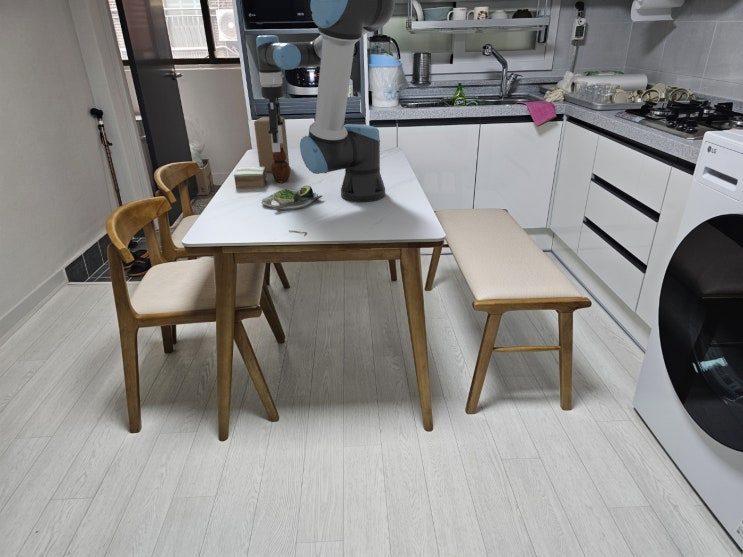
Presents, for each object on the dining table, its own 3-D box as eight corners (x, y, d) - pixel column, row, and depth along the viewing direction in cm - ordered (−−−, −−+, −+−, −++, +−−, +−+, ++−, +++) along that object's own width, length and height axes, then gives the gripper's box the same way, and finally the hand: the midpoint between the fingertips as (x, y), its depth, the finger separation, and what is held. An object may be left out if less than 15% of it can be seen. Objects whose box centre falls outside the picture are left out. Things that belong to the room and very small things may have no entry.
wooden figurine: (269, 182, 182) (265, 141, 175) (279, 178, 186) (275, 138, 179) (284, 184, 179) (280, 142, 172) (293, 180, 183) (289, 139, 176)
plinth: (263, 187, 176) (262, 173, 174) (236, 188, 175) (233, 174, 173) (266, 179, 185) (265, 166, 182) (240, 180, 184) (238, 167, 182)
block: (289, 166, 202) (285, 116, 193) (283, 172, 193) (278, 120, 184) (266, 166, 203) (260, 116, 194) (259, 172, 194) (252, 120, 185)
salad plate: (296, 217, 148) (295, 202, 146) (249, 210, 155) (247, 196, 153) (327, 198, 164) (326, 185, 162) (283, 193, 171) (281, 180, 168)
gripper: (280, 89, 156) (286, 155, 166) (284, 81, 178) (289, 139, 188) (256, 90, 156) (264, 156, 166) (264, 81, 178) (270, 140, 188)
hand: (277, 147), depth 177 cm, fingers open, 13 cm apart
